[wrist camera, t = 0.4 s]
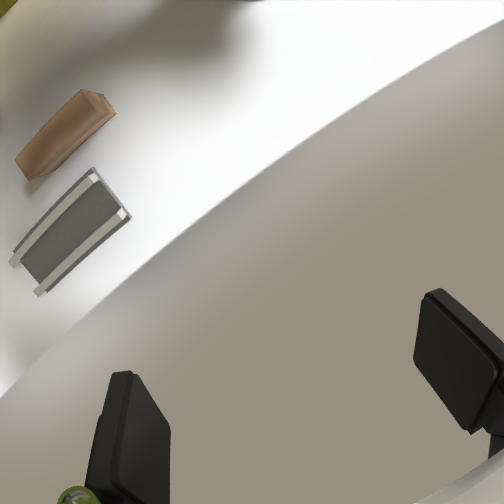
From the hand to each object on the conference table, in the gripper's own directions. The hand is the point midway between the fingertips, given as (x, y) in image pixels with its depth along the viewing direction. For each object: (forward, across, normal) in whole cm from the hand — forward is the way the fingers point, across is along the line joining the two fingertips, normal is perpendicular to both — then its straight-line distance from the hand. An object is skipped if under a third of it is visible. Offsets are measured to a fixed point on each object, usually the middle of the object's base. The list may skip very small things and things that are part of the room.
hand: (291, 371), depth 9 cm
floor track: (+35, +25, +2) cm, 43 cm away
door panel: (+35, +18, -12) cm, 41 cm away
